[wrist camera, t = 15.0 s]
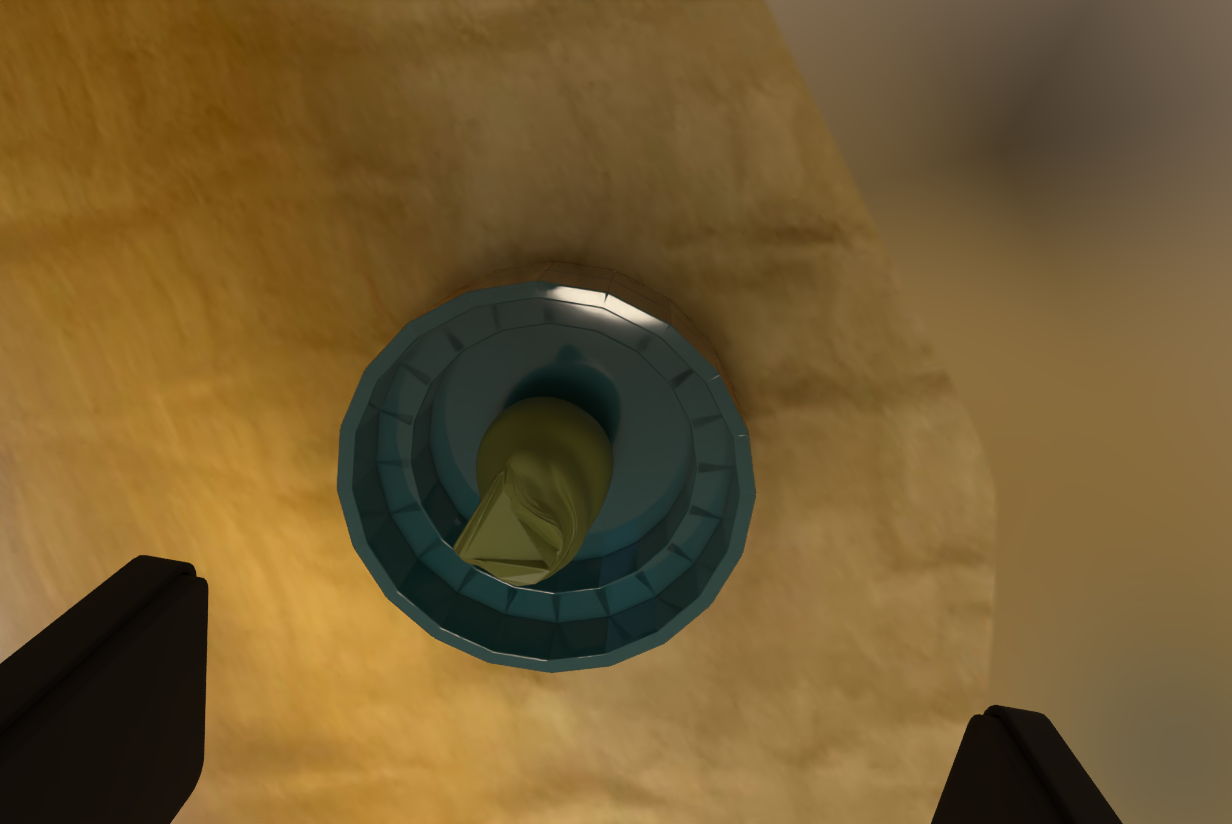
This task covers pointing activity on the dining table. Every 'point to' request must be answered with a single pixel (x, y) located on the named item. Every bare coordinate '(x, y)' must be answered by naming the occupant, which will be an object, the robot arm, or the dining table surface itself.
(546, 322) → the bowl
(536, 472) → the pear
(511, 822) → the dining table surface
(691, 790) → the dining table surface
